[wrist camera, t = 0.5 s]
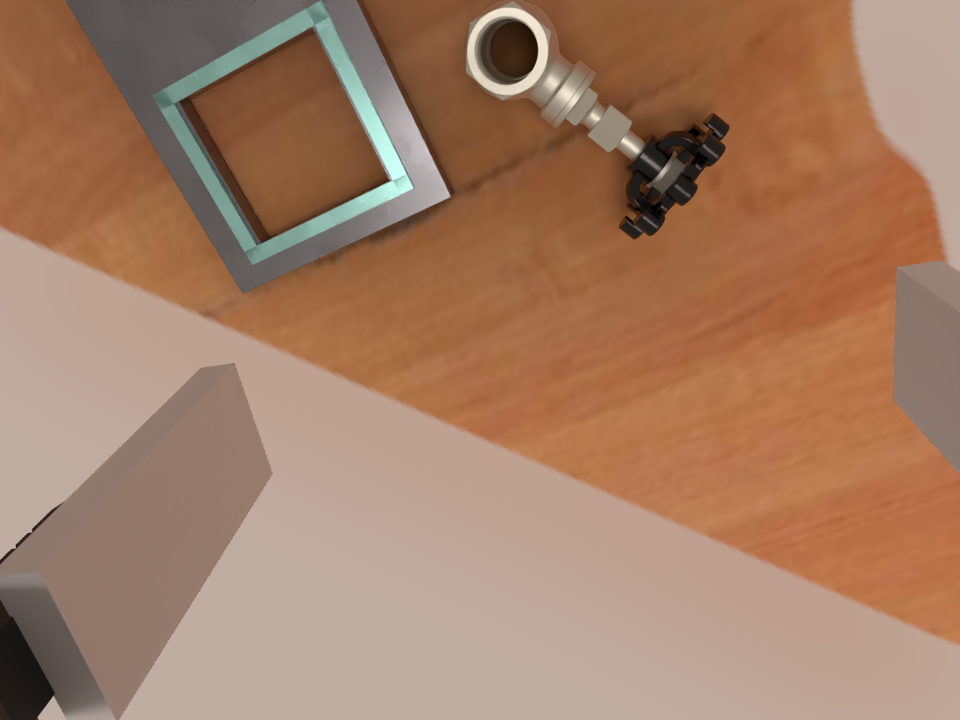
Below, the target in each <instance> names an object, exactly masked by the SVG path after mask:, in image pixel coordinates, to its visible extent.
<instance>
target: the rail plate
mask: <svg viewBox="0 0 960 720" xmlns="http://www.w3.org/2000/svg"><path fill="white" fill-rule="evenodd" d="M66 2H67V4H68V5H69V7H70V9H71V10H72V12H73V14H74V15H75V17H76V19H77V20H78V22H79V24H80V25H81V27H82V29H83V30H84V32H85V34H86V35H87V37H88V39H89V40H90V42H91V43H92V45H93V47H94V48H95V50H96V52H97V53H98V55H99V57H100V58H101V60H102V62H103V63H104V65H105V67H106V68H107V70H108V72H109V73H110V75H111V77H112V78H113V80H114V82H115V83H116V85H117V87H118V88H119V90H120V91H121V93H122V95H123V96H124V98H125V100H126V101H127V103H128V105H129V106H130V108H131V110H132V111H133V113H134V115H135V116H136V118H137V120H138V121H139V123H140V125H141V126H142V128H143V130H144V131H145V133H146V135H147V136H148V138H149V139H150V141H151V143H152V144H153V146H154V148H155V149H156V151H157V153H158V154H159V156H160V158H161V159H162V161H163V163H164V164H165V166H166V168H167V169H168V171H169V173H170V174H171V176H172V178H173V179H174V181H175V183H176V184H177V186H178V188H179V189H180V191H181V192H182V194H183V196H184V197H185V199H186V201H187V202H188V204H189V206H190V207H191V209H192V211H193V212H194V214H195V216H196V217H197V219H198V221H199V222H200V224H201V226H202V227H203V229H204V231H205V232H206V234H207V236H208V237H209V239H210V240H211V242H212V244H213V245H214V247H215V249H216V250H217V252H218V254H219V255H220V257H221V259H222V260H223V262H224V264H225V265H226V267H227V269H228V270H229V272H230V274H231V275H232V277H233V279H234V280H235V282H236V284H237V285H238V287H239V288H240V290H241V292H242V293H245V292H248V291H250V290H252V289H254V288H256V287H258V286H260V285H263V284H265V283H267V282H269V281H271V280H273V279H275V278H278V277H280V276H282V275H284V274H286V273H288V272H290V271H293V270H295V269H297V268H299V267H301V266H303V265H306V264H308V263H310V262H312V261H314V260H316V259H318V258H321V257H323V256H325V255H327V254H329V253H331V252H333V251H336V250H338V249H340V248H342V247H344V246H346V245H348V244H351V243H353V242H355V241H357V240H359V239H361V238H364V237H366V236H368V235H370V234H372V233H374V232H376V231H379V230H381V229H383V228H385V227H387V226H389V225H391V224H394V223H396V222H398V221H400V220H402V219H404V218H406V217H409V216H411V215H413V214H415V213H417V212H419V211H422V210H424V209H426V208H428V207H430V206H432V205H434V204H437V203H439V202H441V201H443V200H445V199H447V198H449V197H451V196H452V194H453V193H454V192H453V190H452V188H451V185H450V183H449V181H448V179H447V177H446V175H445V173H444V171H443V169H442V167H441V165H440V162H439V160H438V158H437V156H436V154H435V152H434V150H433V148H432V146H431V144H430V142H429V139H428V137H427V135H426V133H425V131H424V129H423V127H422V125H421V123H420V121H419V119H418V116H417V114H416V112H415V110H414V108H413V106H412V104H411V102H410V100H409V98H408V96H407V93H406V91H405V89H404V87H403V85H402V83H401V81H400V79H399V77H398V75H397V73H396V70H395V68H394V66H393V64H392V62H391V60H390V58H389V56H388V54H387V52H386V50H385V47H384V45H383V43H382V41H381V39H380V37H379V35H378V33H377V31H376V29H375V27H374V24H373V22H372V20H371V18H370V16H369V14H368V12H367V10H366V8H365V6H364V4H363V1H362V0H66ZM312 31H315V33H316V35H317V37H318V39H319V41H320V43H321V45H322V47H323V49H324V51H325V53H326V55H327V57H328V59H329V61H330V63H331V65H332V67H333V69H334V71H335V73H336V75H337V77H338V79H339V81H340V83H341V85H342V87H343V89H344V91H345V93H346V95H347V97H348V99H349V101H350V103H351V105H352V107H353V109H354V111H355V112H356V114H357V116H358V118H359V120H360V122H361V124H362V126H363V128H364V130H365V132H366V134H367V136H368V138H369V140H370V142H371V144H372V146H373V148H374V150H375V152H376V154H377V156H378V158H379V160H380V162H381V164H382V166H383V168H384V170H385V172H386V174H387V176H388V178H389V180H388V181H386V182H384V183H382V184H380V185H378V186H376V187H374V188H372V189H370V190H368V191H366V192H363V193H361V194H359V195H357V196H355V197H353V198H351V199H349V200H347V201H345V202H343V203H341V204H339V205H337V206H334V207H332V208H330V209H328V210H326V211H324V212H322V213H320V214H318V215H316V216H314V217H312V218H310V219H308V220H305V221H303V222H301V223H299V224H297V225H295V226H293V227H291V228H289V229H287V230H285V231H283V232H281V233H279V234H276V235H274V236H272V237H270V238H269V237H268V236H267V234H266V232H265V230H264V229H263V227H262V225H261V223H260V222H259V220H258V218H257V216H256V215H255V213H254V211H253V209H252V208H251V206H250V204H249V203H248V201H247V199H246V197H245V196H244V194H243V192H242V190H241V189H240V187H239V185H238V183H237V182H236V180H235V178H234V176H233V175H232V173H231V171H230V170H229V168H228V166H227V164H226V163H225V161H224V159H223V157H222V156H221V154H220V152H219V150H218V149H217V147H216V145H215V143H214V142H213V140H212V138H211V137H210V135H209V133H208V131H207V130H206V128H205V126H204V124H203V123H202V121H201V119H200V117H199V116H198V114H197V112H196V110H195V109H194V107H193V105H192V104H191V102H190V99H192V98H194V97H195V96H197V95H199V94H201V93H203V92H204V91H206V90H208V89H210V88H212V87H213V86H215V85H217V84H219V83H221V82H222V81H224V80H226V79H228V78H230V77H231V76H233V75H235V74H237V73H239V72H240V71H242V70H244V69H246V68H248V67H249V66H251V65H253V64H255V63H257V62H258V61H260V60H262V59H264V58H266V57H267V56H269V55H271V54H273V53H275V52H276V51H278V50H280V49H282V48H284V47H285V46H287V45H289V44H291V43H293V42H294V41H296V40H298V39H300V38H302V37H303V36H305V35H307V34H309V33H311V32H312Z"/></svg>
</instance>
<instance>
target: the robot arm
mask: <svg viewBox="0 0 960 720" xmlns="http://www.w3.org/2000/svg"><path fill="white" fill-rule="evenodd" d="M893 400H894V401H895V402H896V403H897V405H898V406H899V407H900V408H901V409H902V410H903V411H904V412H905V414H906V415H907V416H908V417H909V418H910V419H911V420H912V421H913V422H914V424H915V425H916V426H917V427H918V428H919V429H920V430H921V431H922V432H923V434H924V435H925V436H926V437H927V438H928V439H929V440H930V441H931V442H932V444H933V445H934V446H935V447H936V448H937V449H938V450H939V451H940V453H941V454H942V455H943V456H944V457H945V458H946V459H947V460H948V461H949V463H950V464H951V465H952V466H953V467H954V468H955V469H956V470H957V471H958V473H959V474H960V272H959V271H958V270H956V269H954V268H953V267H951V266H950V265H948V264H946V263H945V262H943V261H936V262H929V263H922V264H915V265H908V266H902V267H897V281H896V315H895V350H894V384H893ZM272 474H273V473H272V470H271V467H270V464H269V462H268V458H267V455H266V453H265V450H264V447H263V444H262V441H261V438H260V435H259V432H258V430H257V427H256V424H255V421H254V418H253V415H252V412H251V409H250V406H249V404H248V401H247V398H246V395H245V393H244V389H243V386H242V383H241V381H240V378H239V375H238V372H237V369H236V366H235V364H234V363H232V364H225V365H218V366H211V367H205V368H200V369H199V370H198V372H196V373H195V374H194V375H193V376H192V377H191V378H190V379H189V380H188V381H187V382H186V383H185V384H184V385H183V386H182V387H181V388H180V389H179V390H178V391H177V392H176V393H175V394H174V395H173V396H172V397H171V398H170V399H169V400H168V401H167V402H166V403H165V404H164V405H163V406H162V407H161V408H160V409H159V410H158V411H157V412H156V413H155V414H153V415H152V416H151V417H150V418H149V419H148V420H147V421H146V422H145V423H144V424H143V425H142V426H141V427H140V428H139V429H138V430H137V431H136V432H135V433H134V434H133V435H132V436H131V437H130V438H129V439H128V440H127V441H126V442H125V443H124V444H123V445H122V446H121V447H120V448H119V449H118V450H117V451H116V452H115V453H114V454H113V455H112V456H111V457H110V458H109V459H108V460H107V461H105V463H103V465H102V466H101V467H99V469H97V471H95V472H94V473H93V474H92V475H91V476H90V477H89V478H88V479H87V480H86V481H85V482H84V483H83V484H82V485H81V486H80V487H79V488H78V489H77V490H76V491H75V492H74V493H73V494H72V495H71V496H70V497H69V498H68V499H67V500H66V501H65V502H63V503H62V504H60V505H59V506H57V507H55V508H54V509H52V510H51V511H50V512H49V513H48V514H47V515H46V516H45V517H44V518H43V519H42V520H41V521H40V522H39V523H38V524H37V525H36V526H35V527H34V528H33V529H32V533H27V535H25V536H24V537H23V538H22V539H21V540H20V541H19V542H18V543H17V544H16V549H11V550H10V551H9V552H8V553H7V554H6V555H5V556H4V557H3V558H2V559H1V560H0V720H38V718H37V717H38V716H39V714H40V713H41V712H42V710H43V709H44V708H45V706H46V705H47V704H48V702H49V701H50V700H51V698H52V697H53V696H54V697H55V699H56V701H57V702H58V704H59V706H60V708H61V710H62V712H63V713H64V715H65V717H66V719H67V720H119V719H120V717H121V716H122V714H123V713H124V711H125V709H126V708H127V706H128V705H129V703H130V701H131V700H132V698H133V697H134V695H135V693H136V692H137V690H138V688H139V687H140V685H141V684H142V682H143V681H144V679H145V677H146V676H147V674H148V672H149V671H150V669H151V668H152V666H153V665H154V663H155V661H156V660H157V658H158V657H159V655H160V653H161V652H162V650H163V648H164V647H165V645H166V644H167V642H168V640H169V639H170V637H171V636H172V634H173V632H174V631H175V629H176V628H177V626H178V624H179V623H180V621H181V620H182V618H183V616H184V615H185V613H186V612H187V610H188V608H189V607H190V605H191V604H192V602H193V600H194V599H195V597H196V596H197V594H198V592H199V591H200V589H201V587H202V586H203V584H204V583H205V581H206V579H207V578H208V576H209V575H210V573H211V572H212V570H213V568H214V567H215V565H216V563H217V562H218V560H219V559H220V557H221V556H222V554H223V552H224V551H225V549H226V547H227V546H228V544H229V543H230V541H231V540H232V538H233V536H234V535H235V533H236V531H237V530H238V528H239V527H240V525H241V524H242V522H243V520H244V519H245V517H246V515H247V514H248V512H249V511H250V509H251V507H252V506H253V504H254V503H255V501H256V499H257V498H258V496H259V495H260V493H261V491H262V490H263V488H264V487H265V485H266V483H267V482H268V480H269V479H270V477H271V475H272Z"/></svg>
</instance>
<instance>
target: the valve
mask: <svg viewBox="0 0 960 720" xmlns="http://www.w3.org/2000/svg"><path fill="white" fill-rule="evenodd" d="M510 22H522V23H524V24H525V25H527V26H528V27H529V29H530V30H531V31H532V32H533V34H534V36H535V38H536V41H537V44H538V58H537V61H536V64H535V67H534V68H533V70H532V71H530V72H529V73H528V74H526V75H524V76H520V77H511V76H507V75H504V74H503V73H501V72H500V71H499V70H498V69H497V68H496V67H495V66H494V64H493V62H492V59H491V55H490V45H491V40H492V38H493V36H494V34H495V33H496V31H497V30H498V29H499V28H500V27H501V26H503V25H505V24H507V23H510ZM465 56H466V73H467V74H469V75H470V76H471V77H472V78H473V79H474V80H475V82H476V83H477V84H478V85H479V86H480V87H481V88H482V89H483V90H484V91H485V92H487V93H488V94H490V95H492V96H494V97H496V98H499V99H501V100H502V101H503V100H519V99H523V98H528V99H530V100H532V101H533V102H534V103H535V104H537V105H538V106H539V107H540V108H541V112H540V114H539V116H540V117H541V118H542V119H544V120H545V121H546V122H548V123H549V124H550V125H551V126H553V127H554V128H557V127H558V126H559V125H560V124H561V123H562V122H563V121H564V120H565V119H567V120H568V121H569V122H570V123H572V124H573V125H574V126H576V125H578V124H579V123H582V124H583V125H585V126H586V127H587V128H588V129H589V131H588V132H587V136H588V137H590V138H591V139H592V140H593V141H595V142H596V143H597V144H598V145H600V146H601V147H602V148H603V149H605V150H606V151H607V152H611V151H612V150H613V149H614V148H617V149H618V150H619V151H620V152H622V153H623V154H624V155H625V156H627V157H628V158H629V159H628V161H627V163H626V165H625V170H627V171H628V172H629V173H630V174H632V175H631V176H630V178H629V179H628V182H627V185H626V194H627V198H628V202H627V204H626V207H628V208H629V209H630V210H631V211H633V212H634V213H635V214H637V216H636V218H635V219H634V220H633V221H632V220H631V219H630V218H629V217H627V216H625V217H624V218H623V219H622V221H621V222H620V224H619V229H621V230H622V231H623V232H625V233H626V234H627V235H628V236H630V237H631V238H632V239H637V238H638V237H639V236H640V235H641V234H642V233H643V232H644V233H646V234H647V235H648V236H652V235H653V234H655V233H656V232H657V231H658V230H659V229H660V227H661V226H662V224H663V223H664V221H665V214H666V213H667V212H668V210H669V209H670V208H671V207H672V206H673V205H674V204H675V203H677V204H679V205H680V206H683V205H685V204H686V203H687V202H688V201H689V200H690V199H691V198H692V197H693V196H694V194H695V193H696V191H697V189H698V185H697V184H696V183H695V180H696V179H697V177H698V176H699V174H700V173H701V172H702V170H703V169H704V168H705V167H706V166H708V167H710V166H712V165H713V164H714V163H716V162H717V161H718V160H719V158H720V157H721V156H722V155H723V153H724V151H725V149H726V146H725V145H724V144H723V143H722V142H720V141H721V140H722V139H723V138H724V136H725V135H726V134H727V132H728V130H729V125H728V124H727V123H726V122H725V121H723V120H722V119H721V118H720V117H719V116H717V115H716V114H715V113H712V114H710V115H709V116H708V117H707V118H706V119H705V120H704V121H703V124H705V125H706V126H707V127H708V128H709V130H708V131H707V133H706V132H705V131H704V130H702V129H701V128H700V127H699V126H697V125H696V124H695V123H693V124H691V125H690V126H689V127H688V128H687V129H686V130H685V132H684V131H673V132H670V133H668V134H666V135H664V136H663V137H662V138H661V139H659V138H657V137H656V136H655V135H654V134H650V135H649V136H647V137H646V138H645V139H644V140H642V139H640V138H639V137H638V136H637V135H635V134H634V133H633V132H632V131H630V130H629V129H630V127H631V126H632V123H633V122H632V121H631V120H629V119H628V118H627V117H626V116H624V115H623V114H622V113H621V112H619V111H618V110H617V109H616V108H614V107H613V106H612V105H611V104H609V105H608V106H607V107H606V108H605V107H603V106H602V105H601V104H600V103H599V102H598V101H597V98H598V96H599V95H598V94H597V93H596V92H594V91H593V90H592V89H591V88H589V86H590V84H591V83H592V81H593V80H594V78H595V76H596V73H595V72H594V71H593V70H592V69H590V68H589V67H588V66H587V65H586V64H584V63H583V62H582V61H581V60H578V61H577V62H576V63H575V64H572V63H570V62H569V61H568V60H567V59H566V58H564V57H563V56H562V55H561V54H560V52H559V43H558V37H557V33H556V30H555V28H554V26H553V24H552V22H551V20H550V19H549V17H548V16H547V15H546V14H545V13H544V12H543V11H542V10H541V9H540V8H539V7H537V6H536V5H534V4H532V3H530V2H527V1H524V0H502V1H498V2H496V3H493V4H492V5H490V6H488V7H487V8H485V9H484V10H483V11H482V12H481V13H480V14H479V15H478V16H477V17H476V19H475V20H474V21H472V22H470V28H469V32H468V35H467V39H466V45H465ZM673 146H681V147H682V148H681V149H680V150H679V151H677V152H675V151H674V150H672V149H671V147H673ZM687 162H688V163H687ZM686 163H687V164H686ZM685 164H686V166H685ZM641 183H643V184H644V185H646V186H647V187H648V188H647V190H646V191H645V193H644V194H643V193H642V192H641V191H640V185H641ZM661 193H662V195H661ZM660 195H661V196H660Z"/></svg>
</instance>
